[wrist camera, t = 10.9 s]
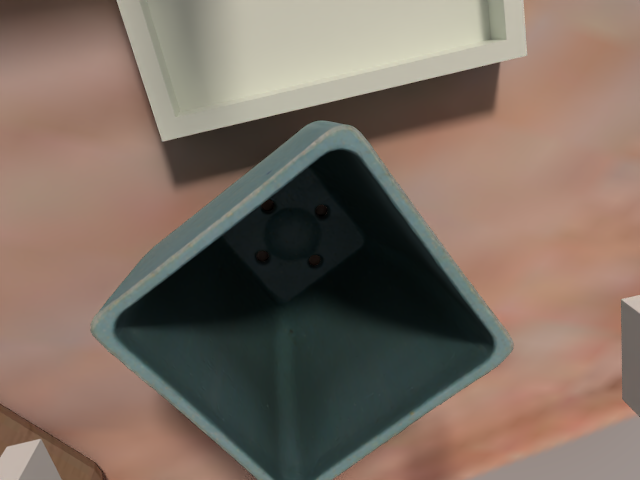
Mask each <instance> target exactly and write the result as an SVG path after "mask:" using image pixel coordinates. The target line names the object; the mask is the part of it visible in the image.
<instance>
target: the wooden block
mask: <svg viewBox="0 0 640 480" xmlns="http://www.w3.org/2000/svg"><path fill="white" fill-rule="evenodd" d="M38 439H41V440H42V442H43V444H44V446H45V447H46V449H47V451H48V453H49V455H50V457H51V459H52V461H53V463H54V465H55V467H56V469H57V471H58V473H59V475H60V477H61V479H62V480H103V478H102V472H101V470H100V469H99V468H98V466H97V465H96V464H95V462H93V461H91V460H90V459H88V458H87V457H85V456H83V455H82V454H80V453H78V452H77V451H75V450H74V449H72V448H70V447H69V446H67V445H65V444H64V443H62V442H61V441H59V440H57V439H56V438H54V437H52V436H51V435H49V434H48V433H46V432H44V431H43V430H41V429H39V428H38V427H36V426H35V425H33V424H31V423H30V422H28V421H26V420H25V419H23V418H22V417H20V416H18V415H17V414H15V413H14V412H12V411H10V410H9V409H7V408H5V407H4V406H2V405H1V404H0V457H1V455H2V454H3V452H4V450H5V449H6V447H8V446H13V445H17V444H21V443H25V442H29V441H33V440H38Z"/></svg>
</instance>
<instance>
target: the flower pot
mask: <svg viewBox="0 0 640 480" xmlns="http://www.w3.org/2000/svg"><path fill="white" fill-rule="evenodd" d="M268 199H270V200H272V201H273V202H274V208H273V209H272V210H271V211H264V210H263V209H262V207H261V204H263V203H264V202H265V201H267V200H268ZM319 205H324V206H326V207H327V213H326V214H325V215H324V216H318V215H317V214H316V212H315V209H316V207H317V206H319ZM259 251H266V252H267V253H268V255H269V257H268V259H267V260H266V261H259V260H258V259H257V257H256V255H257V253H258V252H259ZM312 255H318V256H319V257H320V263H319V264H317V265H311V264H310V263H309V258H310V257H311V256H312ZM90 330H91V333H92V335H93V336H94V337H95V338H96V339H97V340H98V341H99V342H100V343H101V344H102V345H103V346H104V347H105V348H106V349H107V350H108V352H110V353H111V354H112V355H114V356H115V357H116V358H117V359H119V360H120V361H121V362H122V363H123V364H124V365H125V366H126V367H127V368H128V369H130V370H131V371H133V372H134V373H135V374H136V375H137V376H138V377H139V378H140V379H142V380H143V381H144V382H145V383H147V384H148V385H149V386H150V387H152V388H153V389H155V390H156V391H157V392H158V394H160V395H161V396H163V397H164V398H165V399H166V400H168V401H169V402H170V403H171V404H172V405H173V406H174V407H175V408H176V409H178V410H179V411H180V412H181V413H182V414H184V415H185V416H186V417H187V418H189V420H190V421H191V422H192V423H194V424H195V425H196V426H197V427H198V428H199V429H200V430H202V431H203V432H204V433H205V434H206V435H208V436H209V437H210V438H211V439H212V440H214V441H215V443H217V444H218V445H219V446H220V447H221V448H222V449H224V450H225V451H226V452H227V453H228V454H229V455H230V456H232V457H233V458H234V459H235V460H236V461H237V462H238V463H239V464H240V465H242V466H243V467H244V468H245V469H246V470H247V471H248V472H249V473H251V474H252V475H253V476H254V477H255V478H256V479H257V480H333V479H334V478H335V477H337V476H339V475H340V474H341V473H343V472H344V471H345V470H347V469H348V468H350V467H351V466H353V465H354V464H355V463H357V462H358V461H360V460H361V459H363V458H364V457H365V456H366V455H368V454H370V453H371V452H372V451H374V450H375V449H376V448H378V447H379V446H380V445H382V444H383V443H385V442H387V441H388V440H389V439H391V438H392V437H393V436H395V435H397V434H398V433H400V432H401V431H403V430H404V429H405V428H406V427H408V426H409V425H410V424H412V423H413V422H415V421H416V420H418V419H419V418H421V417H422V416H423V415H425V414H426V413H428V412H429V411H431V410H432V409H434V408H435V407H436V406H438V405H441V404H442V403H443V402H445V401H446V400H447V399H449V398H451V397H452V396H454V395H455V394H456V393H458V392H459V391H461V390H462V389H463V388H465V387H467V386H468V385H470V384H471V383H473V382H474V381H476V380H477V379H479V378H481V377H482V376H484V375H486V374H487V373H489V372H490V371H491V370H493V369H494V368H496V367H498V365H499V364H500V363H501V362H503V361H504V359H505V358H506V357H507V356H508V355H509V354H510V353H511V352H512V350H513V346H514V344H513V341H512V339H511V337H510V335H509V333H508V332H507V330H506V329H505V327H504V326H503V325H502V324H501V323H500V322H499V320H498V319H497V317H496V316H495V315H494V313H493V312H492V311H491V310H490V308H489V307H488V306H487V304H486V303H485V301H484V300H483V299H482V297H481V296H480V295H479V294H478V292H477V291H476V290H475V288H474V287H473V285H472V284H471V283H470V282H469V280H468V279H467V278H466V276H465V275H464V274H463V272H462V271H461V269H460V268H459V267H458V265H457V264H456V263H455V262H454V260H453V259H452V258H451V256H450V255H449V253H448V252H447V251H446V249H445V248H444V247H443V245H442V244H441V242H440V241H439V240H438V238H437V237H436V235H435V234H434V233H433V231H432V230H431V229H430V227H429V226H428V225H427V223H426V222H425V221H424V219H423V218H422V216H421V215H420V214H419V212H418V211H417V210H416V208H415V207H414V205H413V204H412V203H411V201H410V200H409V198H408V197H407V195H406V194H405V193H404V191H403V190H402V189H401V187H400V186H399V184H398V183H397V182H396V180H395V179H394V178H393V176H392V175H391V173H390V172H389V171H388V169H387V168H386V166H385V165H384V163H383V162H382V161H381V159H380V158H379V156H378V155H377V153H376V152H375V151H374V149H373V147H372V146H371V145H370V143H369V142H368V141H367V140H366V138H365V137H364V136H363V135H362V133H361V132H360V131H359V130H357V129H356V128H355V127H353V126H351V125H345V124H340V123H335V122H330V121H322V120H321V121H315V122H312V123H310V124H308V125H306V126H305V127H303V128H302V129H301V130H300V131H298V132H297V133H296V134H295V135H294V136H292V137H291V138H290V139H289V140H287V141H286V142H285V143H284V144H282V145H281V146H280V147H279V148H277V149H276V150H275V151H274V152H272V153H271V154H270V155H269V156H267V157H266V158H265V159H264V160H262V161H261V162H260V163H259V164H257V165H256V166H255V167H254V168H252V169H251V170H250V171H249V172H247V173H246V174H245V175H244V176H242V177H241V178H240V179H239V180H237V181H236V182H235V183H234V184H232V185H231V186H230V187H229V188H227V189H226V190H225V191H224V192H222V193H221V194H220V195H219V196H217V197H216V198H215V199H214V200H212V201H211V202H210V203H209V204H207V205H206V206H205V207H204V208H202V209H201V210H200V211H198V212H197V213H196V214H195V215H193V216H192V217H191V218H190V219H188V220H187V221H186V222H185V223H183V224H182V225H181V226H180V227H178V228H177V229H176V230H175V231H173V232H172V233H171V234H169V235H168V236H167V237H166V238H164V239H163V240H162V241H161V242H159V243H158V244H157V245H156V246H154V247H153V248H152V249H151V250H150V251H149V252H148V253H147V254H146V255H145V256H144V257H143V258H142V259H141V260H140V262H139V263H138V264H137V265H136V266H135V268H134V269H133V270H132V271H131V272H130V274H129V275H128V276H127V277H126V279H125V280H124V281H123V282H122V283H121V284H120V286H119V287H118V288H117V289H116V291H115V292H114V293H113V294H112V295H111V297H110V298H109V299H108V300H107V302H106V303H105V304H104V306H103V307H102V308H101V309H100V311H99V312H98V313H97V314H96V315H95V317H94V318H93V321H92V323H91V329H90Z"/></svg>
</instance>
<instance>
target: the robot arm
mask: <svg viewBox="0 0 640 480" xmlns="http://www.w3.org/2000/svg"><path fill="white" fill-rule="evenodd" d="M621 329H622V399H623V400H624V401H625V402H626V403H627V404H628V405H629V406H630V407H631V408H632V410H633V411H634V412H635V413H636V414H637V415H638V416H639V417H640V295H637V296H633V297H629V298H625V299H621ZM0 480H62V479H61V477H60V475H59V473H58V471H57V469H56V467H55V465H54V463H53V461H52V459H51V457H50V455H49V453H48V451H47V449H46V447H45V446H44V444H43V442H42V440H41V439H38V440H33V441H29V442H25V443H21V444H17V445H13V446H8V447H6V449H5V450H4V452H3V454H2V455H1V457H0Z"/></svg>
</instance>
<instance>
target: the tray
mask: <svg viewBox="0 0 640 480" xmlns="http://www.w3.org/2000/svg"><path fill="white" fill-rule="evenodd" d="M117 3H118V6H119V10H120V13H121V16H122V19H123V22H124V25H125V28H126V31H127V34H128V37H129V40H130V43H131V47H132V50H133V53H134V56H135V59H136V62H137V65H138V68H139V71H140V74H141V77H142V80H143V84H144V87H145V90H146V93H147V96H148V99H149V102H150V105H151V108H152V111H153V114H154V117H155V121H156V124H157V127H158V130H159V133H160V136H161V139H162V142H163V141H167V140H172V139H176V138H180V137H184V136H188V135H193V134H197V133H201V132H205V131H210V130H214V129H218V128H222V127H227V126H231V125H235V124H239V123H244V122H248V121H252V120H256V119H260V118H265V117H269V116H273V115H277V114H282V113H286V112H290V111H294V110H299V109H303V108H307V107H311V106H316V105H320V104H324V103H328V102H332V101H337V100H341V99H345V98H349V97H354V96H358V95H362V94H366V93H371V92H375V91H379V90H383V89H388V88H392V87H396V86H400V85H405V84H409V83H413V82H417V81H421V80H426V79H430V78H434V77H438V76H443V75H447V74H451V73H455V72H460V71H464V70H468V69H472V68H477V67H481V66H485V65H489V64H493V63H498V62H502V61H506V60H510V59H515V58H519V57H523V56H527V46H526V32H525V17H524V3H523V0H117Z"/></svg>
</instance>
